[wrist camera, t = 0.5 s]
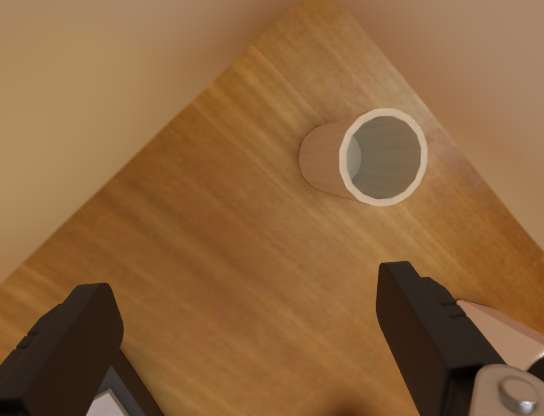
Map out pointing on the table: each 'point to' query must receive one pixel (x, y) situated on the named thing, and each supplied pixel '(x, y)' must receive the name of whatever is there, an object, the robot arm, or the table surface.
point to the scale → (123, 393)
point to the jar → (509, 338)
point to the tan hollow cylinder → (366, 157)
